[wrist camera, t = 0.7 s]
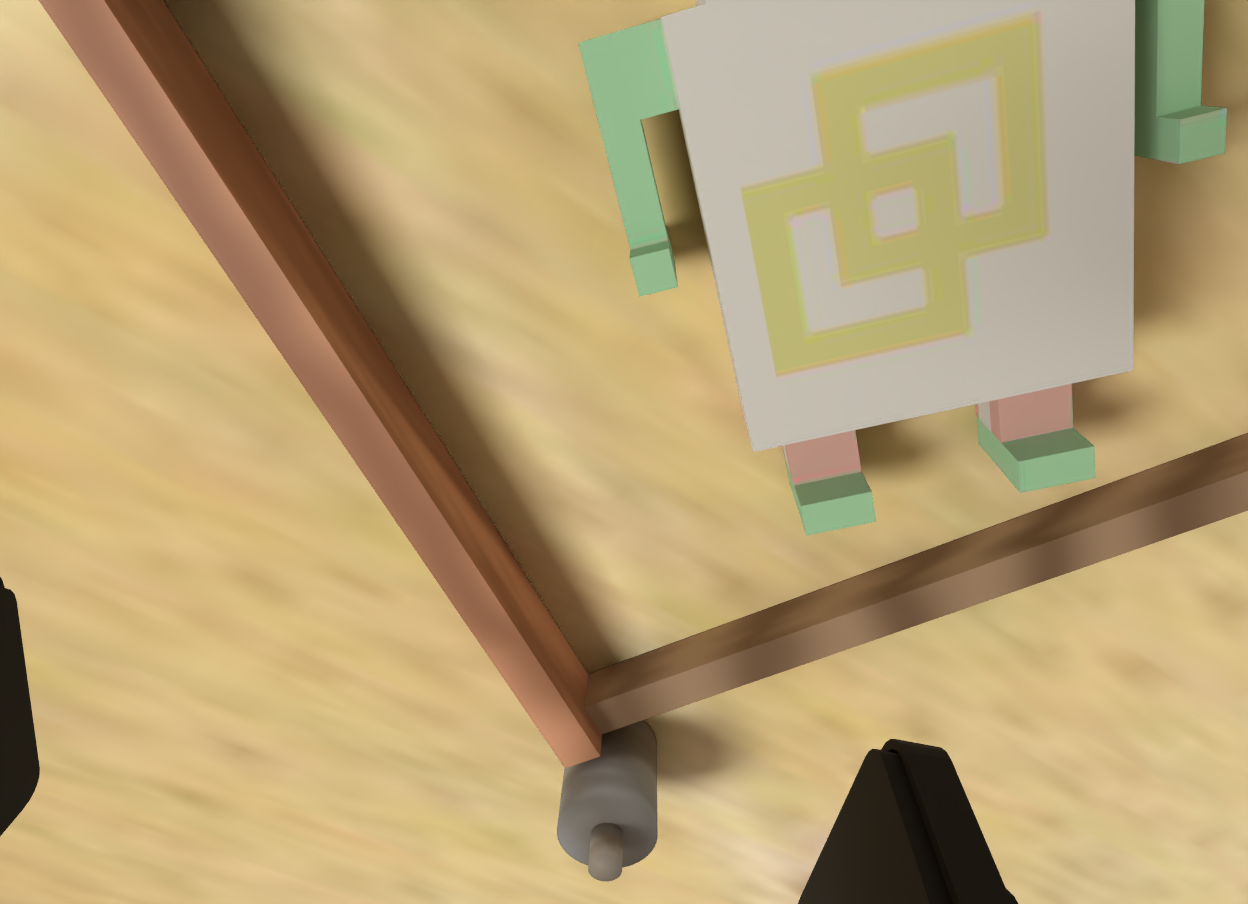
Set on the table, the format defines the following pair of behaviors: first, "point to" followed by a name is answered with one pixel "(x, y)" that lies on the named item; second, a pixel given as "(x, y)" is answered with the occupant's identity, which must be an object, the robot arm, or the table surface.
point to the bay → (459, 526)
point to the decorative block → (909, 208)
